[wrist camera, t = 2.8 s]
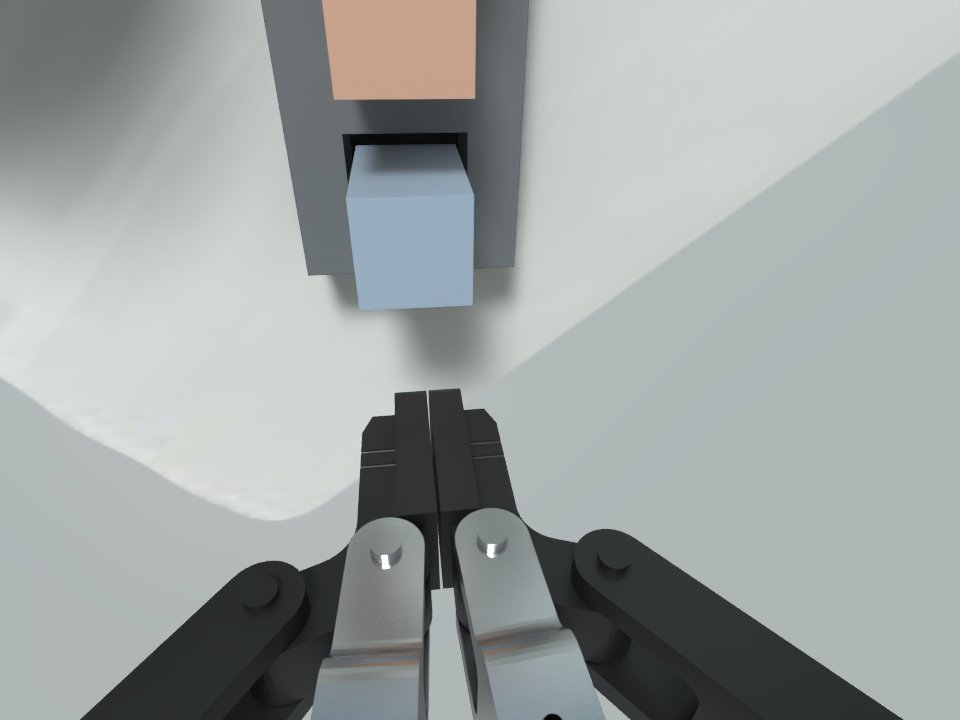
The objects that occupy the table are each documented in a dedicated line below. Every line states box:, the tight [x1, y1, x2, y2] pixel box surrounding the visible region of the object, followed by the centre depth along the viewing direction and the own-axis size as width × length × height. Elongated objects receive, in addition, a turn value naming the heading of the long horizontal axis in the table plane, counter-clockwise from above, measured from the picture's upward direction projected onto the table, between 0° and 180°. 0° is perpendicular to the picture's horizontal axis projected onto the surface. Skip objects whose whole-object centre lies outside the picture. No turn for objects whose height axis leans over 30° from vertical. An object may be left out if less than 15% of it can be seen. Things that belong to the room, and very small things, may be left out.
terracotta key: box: [322, 0, 476, 100], centre depth 19 cm, size 4×4×7 cm
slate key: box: [346, 144, 474, 311], centre depth 24 cm, size 4×4×7 cm
